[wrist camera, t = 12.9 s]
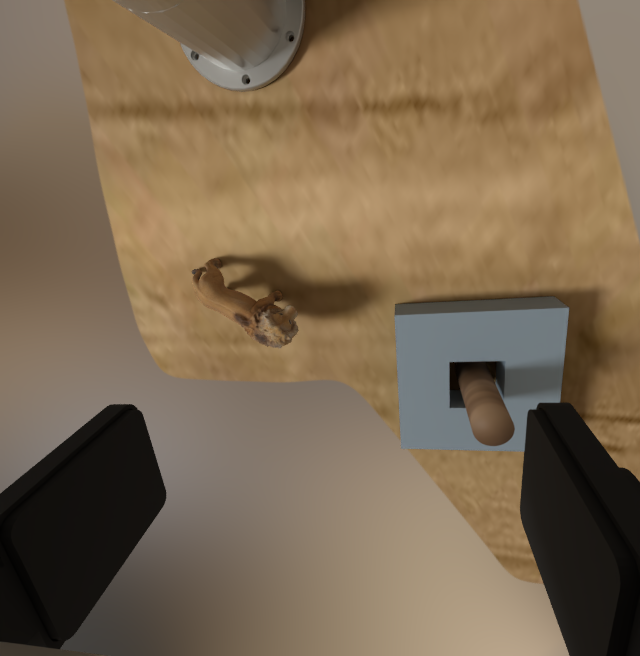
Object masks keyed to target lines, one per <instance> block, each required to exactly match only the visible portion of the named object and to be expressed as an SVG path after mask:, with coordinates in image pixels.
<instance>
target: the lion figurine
mask: <svg viewBox="0 0 640 656" xmlns="http://www.w3.org/2000/svg"><path fill="white" fill-rule="evenodd" d="M205 267H206V269H207V272H206V274H205V275H203V276H202V277H201V279H200V276H201V275H202V271H201V270H199V269H194V270H193V271H192V274H195V275H194V276H193V280H192V283H193V287H194V289H195V294H196V297H197V298H198V300H199V301H200V302H201V303H202V304H203V305H204V306H206V307H208V308H210V309H213V310H215V311H218V312H220V313H221V314H223V315H224V316H226V317H228V318H229V319H231V320H233V321H234V322H236V323H238V324H239V325H241V326H242V327H244V328H245V331H247V334H248V335H250V336H251V338H252V339H254V340H256V341H257V342H259V343H261V344H264V345H265V346H271V347H278V348H281V347H282V346H284V345H286V344H288V343H290V342H291V341H292V338H293V337H294V336H295V335H296V334H297V332H298V326H297V325H296V322H295V321H294V319H295V318H296V316H297V311H296V309H295V308H294V307H293V306H290V305H289V306H287V307H285V309H284V310H282V309H281V308H280V307H278V306H276V305H274V302H275V301H280V300H281V299H282V298H283V297H282V293H281V292H280V291H275V292H272V293H271V294H270V295H268V297H265V298H263V299H259V300H258V301H255V300H254V299H252V298H251V297H249V296H247V295H245V294H243V293H241V292H238V291H235V290H230V289H228V288H226V287H225V285H224V279H223V276H222V273H221V272H220V270H219V269H218V268H220V267H221V262H220V260H219V259H216V258H214V259H211V260H209V261H208V262H207V263H206V264H205ZM199 279H200V280H199Z"/></svg>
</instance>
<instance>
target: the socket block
mask: <svg viewBox="0 0 640 656" xmlns="http://www.w3.org/2000/svg"><path fill="white" fill-rule="evenodd" d="M568 315H569V307H568V306H566V305H565V304H564V303H562V302H561V301H560V300H558V299H557V298H556V297H554V296H551V297H531V298H511V299H491V300H471V301H451V302H431V303H411V304H395V332H396V352H397V372H398V393H399V413H400V433H401V448H402V449H443V450H484V451H524V450H525V437H526V425H527V414H528V411H529V410H530V409H536V408H537V405H538V404H539V403H560V398H561V387H562V377H563V367H564V356H565V346H566V336H567V325H568ZM477 361H496V386H497V388H498V391H499V393H500V395H501V397H502V399H503V401H504V404H505V406H506V408H507V410H508V412H509V414H510V417H511V419H512V421H513V423H514V427H515V431H514V435H513V437H512V438H511V439H510V440H509V441H508V442H506V443H505V444H502V445H499V446H487V445H484V444H482V443H480V442H479V441H478V440H476V438H475V437H474V435H473V432H472V429H471V425H470V421H469V418H468V414H467V411H466V407H465V404H464V400H463V397H462V393H461V390H449V362H477Z"/></svg>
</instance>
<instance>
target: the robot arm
mask: <svg viewBox="0 0 640 656" xmlns="http://www.w3.org/2000/svg"><path fill="white" fill-rule="evenodd" d="M113 1H115V2H116V3H118V4H119V5H121V6H122V7H124V8H126V9H127V10H129V11H130V12H132V13H134V14H135V15H137V16H138V17H140V18H142V19H143V20H145V21H146V22H148V23H150V24H151V25H153V26H154V27H156V28H158V29H159V30H161V31H162V32H164V33H166V34H167V35H169V36H170V37H172V38H174V39H175V40H177V41H178V42H180V44H181V47H182V49H183V51H184V53H185V55H186V56H187V58H188V60H189V61H190V63H191V64H192V65H193V67H194V68H195V69H196V70H197V71H198V72H199V73H200V74H201V75H202V76H204V77H205V78H206V79H208V80H209V81H210V82H212V83H214V84H216V85H218V86H219V87H222V88H225V89H228V90H231V91H240V92H244V91H253V90H256V89H259V88H262V87H264V86H266V85H268V84H269V83H271V82H273V81H274V80H276V79H277V78H278V77H279V76H280V75H281V74H282V73H283V72H284V71H285V70H286V68H287V67H288V65H289V64H290V63H291V61H292V60H293V58H294V56H295V54H296V52H297V50H298V48H299V45H300V41H301V38H302V35H303V30H304V22H305V0H113ZM291 37H294V40H293V41H292V42H290V38H291ZM198 55H199V58H198V60H197V56H198ZM248 79H250V83H249V84H247V80H248ZM165 501H166V490H165V486H164V483H163V480H162V476H161V473H160V470H159V467H158V463H157V460H156V456H155V454H154V450H153V447H152V443H151V440H150V437H149V433H148V430H147V427H146V424H145V420H144V417H143V414H142V412H141V411H139V410H137V408H136V407H135V406H134V405H132V404H129V405H128V404H123V405H122V404H121V405H120V404H117V405H116V404H114V405H109V406H107V407H106V408H105V409H103V410H102V411H101V412H100V413H98V414H97V415H96V416H95V417H93V418H92V419H91V420H90V421H89V422H88V423H86V424H85V425H84V426H82V427H81V428H80V429H79V430H78V431H76V432H75V433H74V434H73V435H72V436H70V437H69V438H68V439H67V440H65V441H64V442H63V443H62V444H60V445H59V446H58V447H57V448H56V449H54V450H53V451H52V452H51V453H49V454H48V455H47V456H46V457H45V458H44V459H42V460H41V461H40V462H38V463H37V464H36V465H35V466H34V467H32V468H31V469H30V470H29V471H28V472H26V473H25V474H24V475H22V476H21V477H20V478H19V479H18V480H16V481H15V482H14V483H13V484H12V485H10V486H9V487H8V488H7V489H5V490H4V491H3V492H2V493H1V494H0V656H106V655H99V654H91V653H83V652H76V651H68V650H61V649H60V648H61V646H62V645H63V643H64V642H65V641H66V640H68V639H70V638H71V637H72V636H73V635H74V634H75V633H76V632H77V630H78V628H79V627H80V626H81V624H82V623H83V621H84V620H85V619H86V617H87V616H88V614H89V613H90V611H91V610H92V608H93V607H94V606H95V604H96V602H97V601H98V600H99V598H100V597H101V595H102V594H103V593H104V591H105V590H106V588H107V587H108V585H109V584H110V582H111V581H112V579H113V578H114V576H115V575H116V574H117V572H118V571H119V569H120V568H121V567H122V565H123V564H124V562H125V561H126V559H127V558H128V556H129V555H130V554H131V552H132V550H133V549H134V548H135V546H136V545H137V543H138V542H139V540H140V539H141V538H142V536H143V535H144V533H145V532H146V530H147V529H148V527H149V526H150V525H151V523H152V522H153V520H154V519H155V517H156V516H157V515H158V513H159V512H160V510H161V509H162V507H163V505H164V503H165ZM520 514H521V520H522V524H523V527H524V530H525V533H526V535H527V538H528V541H529V544H530V546H531V549H532V552H533V555H534V558H535V560H536V563H537V566H538V569H539V572H540V574H541V577H542V580H543V583H544V585H545V588H546V591H547V594H548V596H549V599H550V602H551V605H552V608H553V610H554V613H555V616H556V619H557V621H558V624H559V627H560V630H561V633H562V636H563V638H564V641H565V644H566V647H567V649H568V652H569V655H570V656H640V482H639V481H638V479H637V478H636V477H635V476H634V475H633V474H632V473H631V472H630V471H629V470H627V469H625V468H619V467H618V466H617V465H616V463H615V462H614V461H613V459H612V458H611V457H610V455H609V454H608V453H607V451H606V450H605V449H604V447H603V446H602V445H601V443H600V442H599V441H598V439H597V438H596V437H595V435H594V434H593V433H592V431H591V430H590V429H589V427H588V426H587V425H586V423H585V422H584V421H583V419H582V418H581V417H580V415H579V414H578V413H577V411H576V410H575V409H574V407H573V406H572V405H571V404H570V403H539V404H538V405H537V408H536V409H530V410H529V411H528V414H527V425H526V437H525V450H524V463H523V476H522V489H521V502H520Z"/></svg>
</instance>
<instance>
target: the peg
mask: <svg viewBox="0 0 640 656" xmlns="http://www.w3.org/2000/svg"><path fill="white" fill-rule="evenodd" d="M455 372H456V375H457V379H458V382H459V386H460V390H461V393H462V397H463V400H464V404H465V407H466V411H467V414H468V418H469V421H470V425H471V429H472V432H473V435H474V437H475V438H476V440H478V441H479V442H480V443H482V444H484V445H487V446H499V445H502V444H505V443H506V442H508V441H509V440H510V439H511V438H512V437H513V435H514V431H515V427H514V423H513V421H512V419H511V417H510V414H509V412H508V410H507V408H506V406H505V404H504V401H503V399H502V397H501V395H500V393H499V391H498V388H497V386H496V384H495V382H494V380H493V378H492V375H491V373H490V371H489V369H488V367H487V365H486V363H485V361H477V362H457V364H456V366H455Z"/></svg>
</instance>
